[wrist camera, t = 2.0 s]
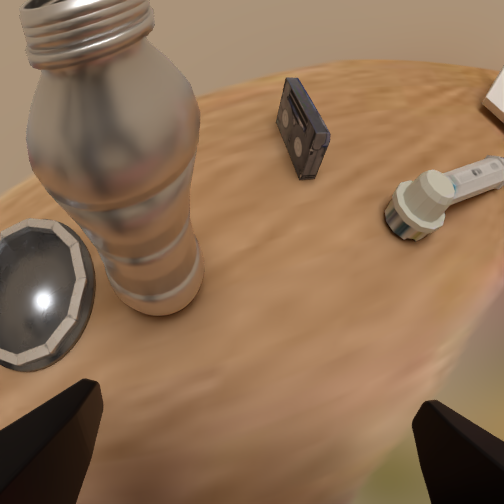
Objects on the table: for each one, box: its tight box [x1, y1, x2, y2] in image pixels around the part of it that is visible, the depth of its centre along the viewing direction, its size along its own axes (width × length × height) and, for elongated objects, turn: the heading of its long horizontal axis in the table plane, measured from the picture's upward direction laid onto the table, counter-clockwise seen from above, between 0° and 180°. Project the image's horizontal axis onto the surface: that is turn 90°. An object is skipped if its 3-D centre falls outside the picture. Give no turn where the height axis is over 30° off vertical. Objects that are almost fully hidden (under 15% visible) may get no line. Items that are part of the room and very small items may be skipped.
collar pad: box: [0, 218, 95, 372], centre depth 20 cm, size 13×13×1 cm
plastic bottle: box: [19, 0, 204, 316], centre depth 14 cm, size 6×7×20 cm
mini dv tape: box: [276, 78, 330, 180], centre depth 28 cm, size 8×2×6 cm, turn 13°
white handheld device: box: [385, 155, 504, 242], centre depth 29 cm, size 5×7×25 cm
